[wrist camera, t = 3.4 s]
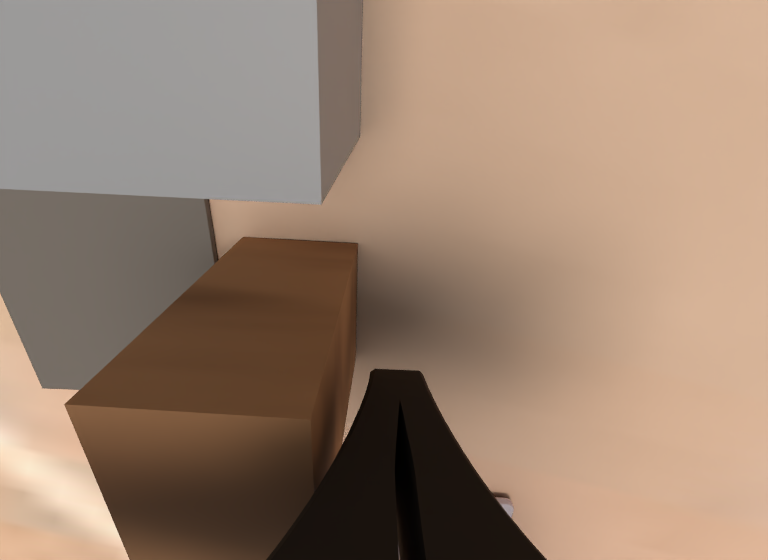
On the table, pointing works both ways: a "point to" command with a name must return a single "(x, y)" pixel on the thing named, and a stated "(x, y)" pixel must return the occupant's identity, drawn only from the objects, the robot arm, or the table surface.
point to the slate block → (180, 97)
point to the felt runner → (95, 272)
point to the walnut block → (227, 404)
